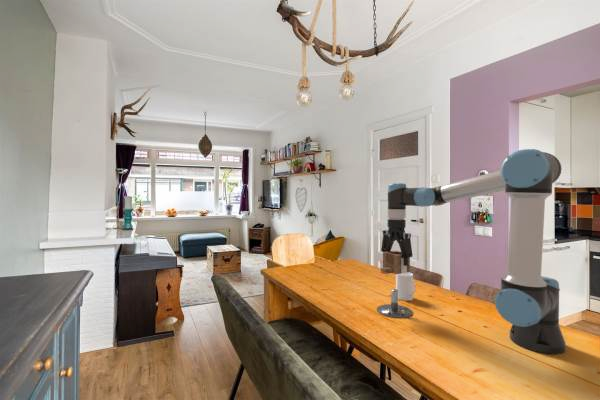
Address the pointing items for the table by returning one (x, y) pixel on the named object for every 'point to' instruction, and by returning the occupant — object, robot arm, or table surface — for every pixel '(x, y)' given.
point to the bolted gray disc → (394, 307)
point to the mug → (405, 286)
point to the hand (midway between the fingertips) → (395, 270)
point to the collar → (393, 262)
